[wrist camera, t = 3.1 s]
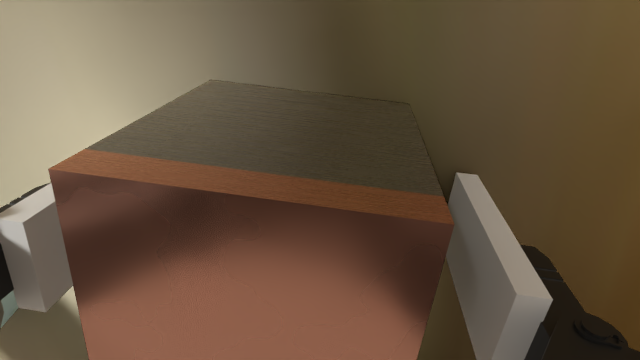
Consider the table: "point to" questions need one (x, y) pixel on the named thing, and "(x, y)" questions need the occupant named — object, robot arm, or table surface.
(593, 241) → the table surface
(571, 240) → the table surface
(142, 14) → the table surface
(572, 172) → the table surface
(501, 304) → the robot arm
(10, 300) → the cup
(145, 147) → the red-topped grey block
